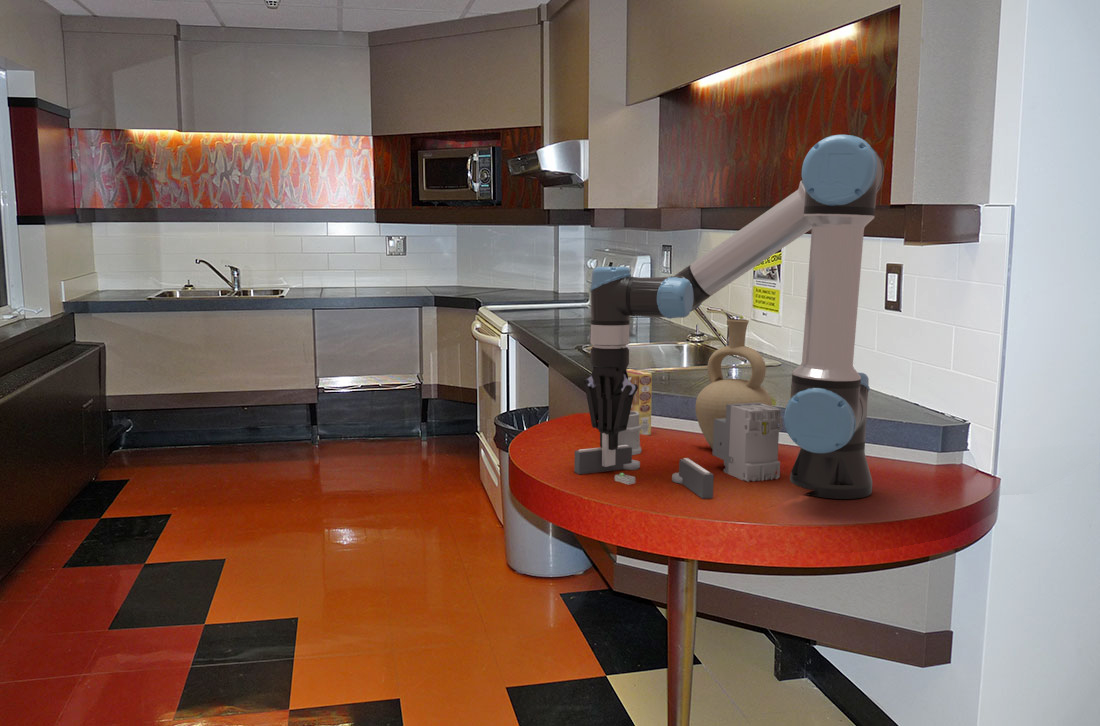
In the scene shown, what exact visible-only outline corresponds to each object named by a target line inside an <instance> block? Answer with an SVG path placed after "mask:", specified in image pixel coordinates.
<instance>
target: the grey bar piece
mask: <svg viewBox="0 0 1100 726" xmlns="http://www.w3.org/2000/svg"><path fill="white" fill-rule="evenodd" d="M678 466H679V467H678V472H674V473H672V476H671V482H673V483H676V484H679V485H683V486H684V487H686V488H688V490H690V491H691V492H693V493H694V494H696V495H697V496H698V497H699V498H701V499H713V498H714V482H715V481H714V476H715V475H714V474H713V473H712V472H710V471H709V470H707V469H706V468H704V467H703V466H701V465H699V464H698V463H696V462H695V461H693V460H692V459H690V458H689V457H683V458H680V459H679V464H678Z"/></svg>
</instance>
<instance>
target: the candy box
mask: <svg viewBox="0 0 1100 726" xmlns="http://www.w3.org/2000/svg"><path fill="white" fill-rule="evenodd" d="M627 374H628V380H629V381H630V382H631V383H632V384H636V385H637V386H638V389H637V391H636V393H635V395H634V397H633V401H632V406H631V411H636V412H639V425H640V426H641V430H640V435H643V436H644V435H645V436H651V434H652V399H653V398H652V395H653V393H652V392H653V391H652V390H653V388H652V385H653V373H651V372H646V371H643V370H638V369H633V368H629V369H627Z"/></svg>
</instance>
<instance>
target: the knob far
mask: <svg viewBox="0 0 1100 726" xmlns="http://www.w3.org/2000/svg"><path fill="white" fill-rule="evenodd" d="M573 463H574V467H573V468H574V469H573V472H574V474H578V475H586V474H595V473H602V472H603V473H605V472H613V471H621V470H625V471H636V470H639V469H640V468H641V467H640V466H641V461H639V460H635V459H633V455H632V447H629V446H628V445H620V446H618V448H617V449H616V453H615V465H612V466H608V467H605V466H602V448H601V447H593V448H582V449H577V450H574V462H573Z"/></svg>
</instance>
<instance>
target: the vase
mask: <svg viewBox="0 0 1100 726" xmlns="http://www.w3.org/2000/svg"><path fill="white" fill-rule="evenodd" d="M726 321H727V326H728V345H725V346H723V347H722V346H721V347H720V348H718V349H716V350H715V351H714V352H713V353H712V354H711V355H710V357H709V359H708V362H707V367H706V369H707V374H708V375H707V376H708V378H709V379H708V380H709V382H710V384H708V385H706V386H704V388H703V389H702V390H701V391H700V392H699V393H698V395H697V397H696V400H695V416H696V419H697V423H698V425H699V428H700V430H701V433H702V435H703V437H704V439H705V440H706V442H707V444H708V446H709V447H710V448H711V449H712V450H713V428H714V419H722V418H726V405H727V404H743V403H762V404H766V405H769V406H772V407H773V403H772V399H771V396H770V394H769V393H768V391H767V390H766V389H765V388H763V386H762V384H763V382H764V380H765V377H766V373H767V372H766V371H767V369H766V368H767V366H766V363H765V360H764V358H763V356H762V355H761V353H760V352H758V351H757V350H755V349H754V348H752V347H749V346H746V344H745V343H746V342H745V341H746V335H747V327H748V325H749V320H748V319H745V318H730V319H729V318H728V319H727V320H726ZM727 356H737V357H741V358H744V359H745V360H747V361H748V363H750V366H751V376H750V378H749V379H743V378H724V376H723V372H722V362H723V360H724V359H725V358H726V357H727Z"/></svg>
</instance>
